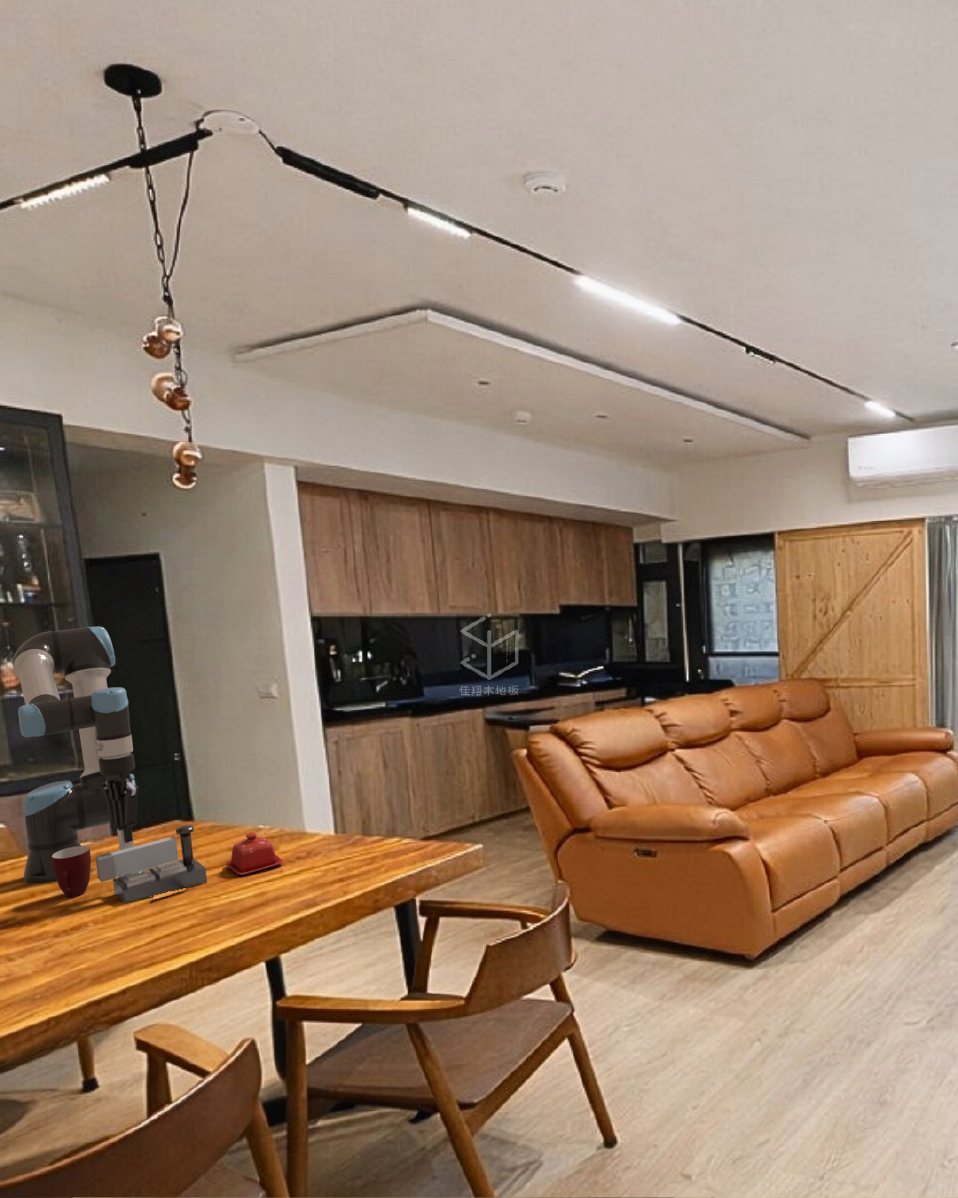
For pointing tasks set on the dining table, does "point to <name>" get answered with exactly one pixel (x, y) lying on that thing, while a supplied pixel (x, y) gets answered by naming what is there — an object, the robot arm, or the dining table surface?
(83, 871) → the mug
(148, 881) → the grey stepped machine part
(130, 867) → the light grey bar
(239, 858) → the butter dish
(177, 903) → the dining table surface
